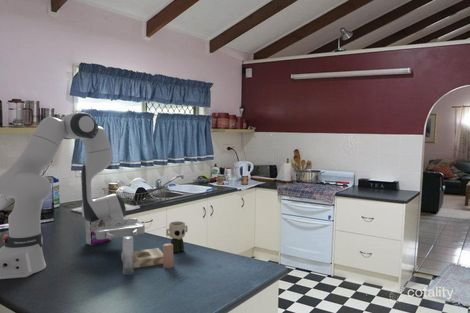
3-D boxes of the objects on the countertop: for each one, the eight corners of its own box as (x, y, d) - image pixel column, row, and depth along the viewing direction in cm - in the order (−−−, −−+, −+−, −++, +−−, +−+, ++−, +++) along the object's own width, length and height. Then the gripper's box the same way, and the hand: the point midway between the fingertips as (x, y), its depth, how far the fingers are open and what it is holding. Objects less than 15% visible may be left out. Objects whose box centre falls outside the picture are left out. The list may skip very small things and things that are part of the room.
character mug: (170, 255, 171) (170, 226, 170) (162, 251, 176) (162, 223, 175) (191, 250, 177) (191, 223, 176) (183, 246, 183) (183, 219, 182)
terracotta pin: (164, 269, 155) (164, 247, 154) (162, 265, 159) (161, 244, 158) (174, 267, 157) (174, 245, 156) (171, 264, 160) (171, 242, 160)
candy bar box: (105, 238, 195) (104, 206, 194) (111, 240, 192) (110, 207, 191) (85, 243, 187) (84, 210, 185) (91, 245, 184) (90, 211, 182)
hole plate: (126, 269, 154) (126, 262, 154) (121, 259, 165) (121, 252, 165) (165, 263, 161) (165, 256, 161) (158, 254, 172) (158, 247, 172)
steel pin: (124, 275, 148) (123, 239, 147) (122, 271, 152) (121, 237, 151) (134, 273, 150) (134, 238, 149) (132, 270, 153) (132, 235, 152)
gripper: (93, 223, 169) (96, 231, 156) (140, 217, 178) (147, 225, 165) (93, 237, 169) (97, 246, 157) (140, 231, 178) (147, 239, 166)
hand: (123, 235), depth 161 cm, fingers open, 8 cm apart
